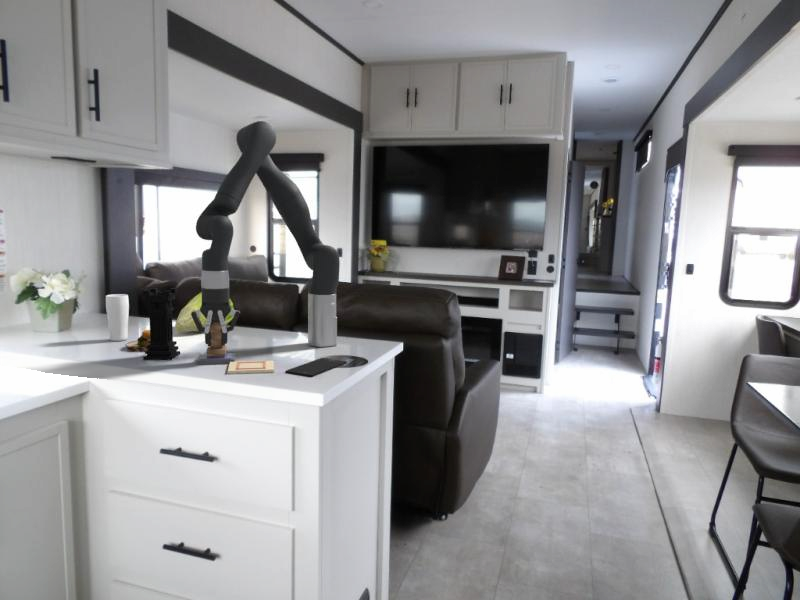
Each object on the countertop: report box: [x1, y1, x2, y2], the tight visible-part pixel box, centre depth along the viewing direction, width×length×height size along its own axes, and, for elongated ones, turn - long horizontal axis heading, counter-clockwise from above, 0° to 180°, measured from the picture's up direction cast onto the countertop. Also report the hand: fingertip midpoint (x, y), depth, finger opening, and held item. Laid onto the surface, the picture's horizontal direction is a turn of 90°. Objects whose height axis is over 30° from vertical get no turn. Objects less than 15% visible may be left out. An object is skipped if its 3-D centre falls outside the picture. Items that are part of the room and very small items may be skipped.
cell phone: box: [285, 357, 348, 378], centre depth 156 cm, size 9×18×1 cm, turn 154°
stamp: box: [205, 321, 227, 358], centre depth 160 cm, size 5×5×10 cm
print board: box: [227, 360, 275, 375], centre depth 153 cm, size 12×10×1 cm
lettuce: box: [174, 291, 234, 333], centre depth 204 cm, size 15×24×16 cm
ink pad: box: [196, 352, 237, 366], centre depth 160 cm, size 10×8×1 cm
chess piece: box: [142, 287, 181, 361], centre depth 162 cm, size 8×8×20 cm
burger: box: [124, 329, 150, 353], centre depth 174 cm, size 12×12×8 cm
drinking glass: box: [105, 293, 130, 342], centre depth 183 cm, size 7×7×15 cm
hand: (216, 345), depth 160 cm, fingers closed on stamp, 3 cm apart
